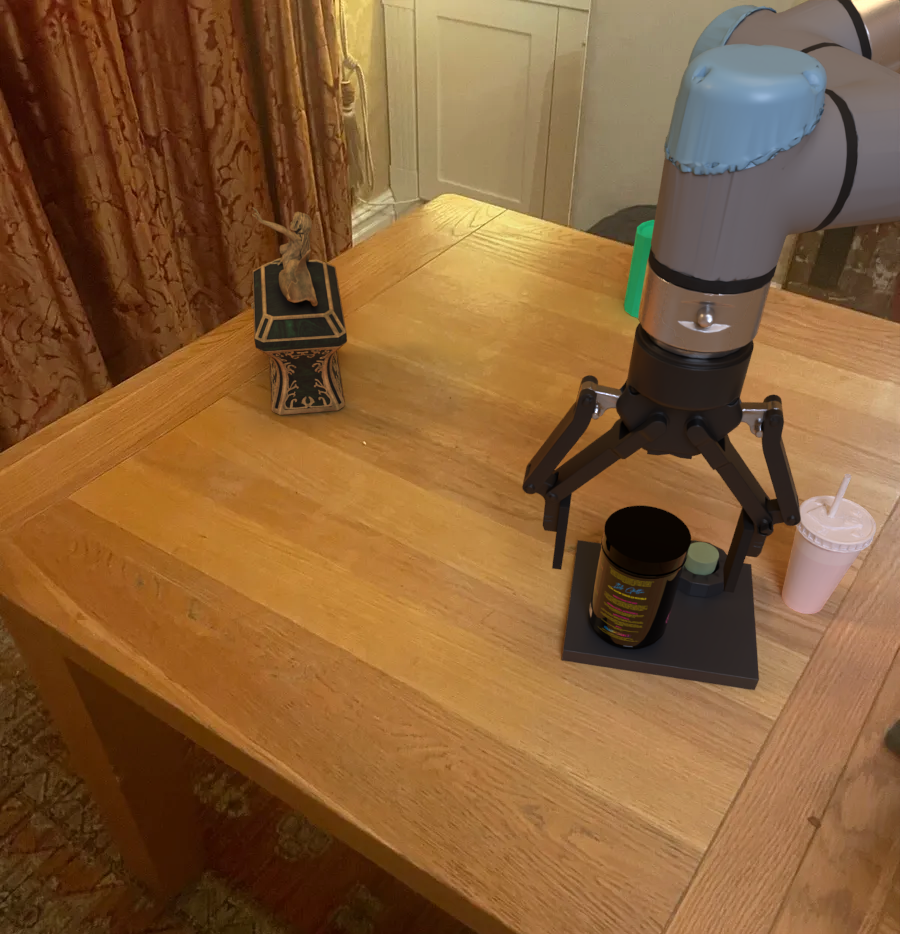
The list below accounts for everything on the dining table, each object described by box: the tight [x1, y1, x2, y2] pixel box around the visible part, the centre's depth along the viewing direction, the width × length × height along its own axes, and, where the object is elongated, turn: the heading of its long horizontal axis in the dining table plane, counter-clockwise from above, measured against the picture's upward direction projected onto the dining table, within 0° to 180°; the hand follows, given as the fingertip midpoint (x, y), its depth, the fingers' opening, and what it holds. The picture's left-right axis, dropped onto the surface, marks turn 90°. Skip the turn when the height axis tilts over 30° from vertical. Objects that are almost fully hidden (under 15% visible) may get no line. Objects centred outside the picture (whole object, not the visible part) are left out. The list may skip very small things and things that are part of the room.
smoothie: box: [781, 473, 877, 615], centre depth 77 cm, size 6×6×14 cm
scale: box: [561, 539, 760, 691], centre depth 79 cm, size 16×14×3 cm
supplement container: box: [588, 504, 692, 650], centre depth 74 cm, size 7×7×10 cm
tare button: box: [684, 541, 719, 575], centre depth 81 cm, size 3×3×2 cm
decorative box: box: [250, 206, 348, 416], centre depth 97 cm, size 20×10×20 cm, turn 9°
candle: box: [623, 219, 655, 319], centre depth 115 cm, size 6×6×12 cm
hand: (642, 569), depth 73 cm, fingers open, 13 cm apart
